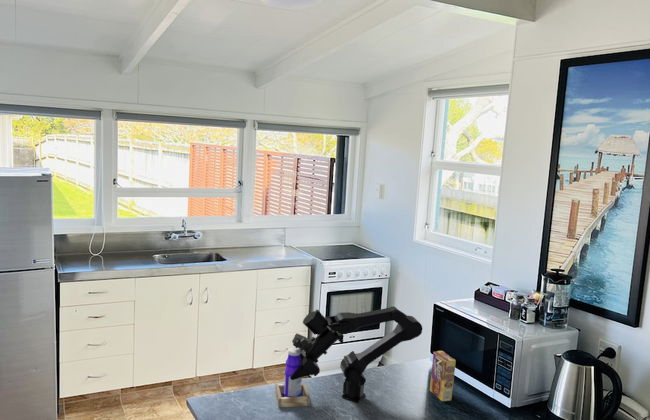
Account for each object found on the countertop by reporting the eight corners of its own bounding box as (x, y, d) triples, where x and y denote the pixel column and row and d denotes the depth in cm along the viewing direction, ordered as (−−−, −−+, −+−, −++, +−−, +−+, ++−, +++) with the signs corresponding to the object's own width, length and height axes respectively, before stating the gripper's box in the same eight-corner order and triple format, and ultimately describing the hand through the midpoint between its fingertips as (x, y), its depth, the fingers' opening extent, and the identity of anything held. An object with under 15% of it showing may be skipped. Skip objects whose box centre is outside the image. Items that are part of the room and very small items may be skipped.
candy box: (452, 400, 198) (456, 360, 196) (442, 402, 196) (446, 361, 194) (439, 389, 206) (443, 350, 204) (429, 390, 205) (432, 351, 202)
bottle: (297, 403, 188) (300, 355, 186) (281, 401, 189) (283, 352, 187) (303, 393, 195) (305, 346, 193) (287, 391, 196) (289, 344, 194)
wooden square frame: (304, 391, 199) (305, 383, 198) (309, 405, 188) (309, 397, 188) (275, 392, 196) (275, 384, 196) (278, 407, 186) (278, 398, 186)
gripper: (302, 317, 198) (270, 348, 198) (311, 337, 180) (276, 371, 180) (323, 338, 201) (291, 368, 200) (334, 359, 183) (299, 392, 182)
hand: (289, 374), depth 191 cm, fingers closed on bottle, 7 cm apart
